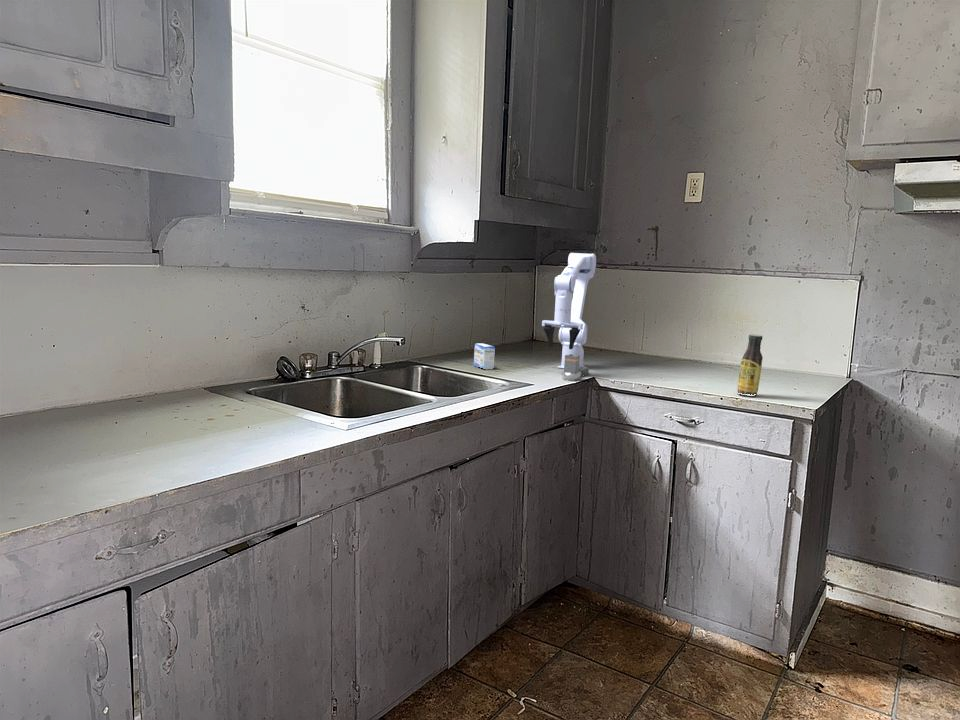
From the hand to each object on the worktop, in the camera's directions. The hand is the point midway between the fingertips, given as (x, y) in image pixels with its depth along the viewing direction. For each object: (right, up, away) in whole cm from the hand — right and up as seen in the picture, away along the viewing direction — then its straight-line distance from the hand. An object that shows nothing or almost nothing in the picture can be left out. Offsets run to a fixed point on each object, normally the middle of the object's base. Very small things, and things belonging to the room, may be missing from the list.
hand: (560, 347), depth 236 cm
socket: (+3, -9, -7) cm, 11 cm away
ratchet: (+6, -10, -1) cm, 12 cm away
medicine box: (-27, -7, +9) cm, 30 cm away
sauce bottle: (+58, -16, -20) cm, 64 cm away
